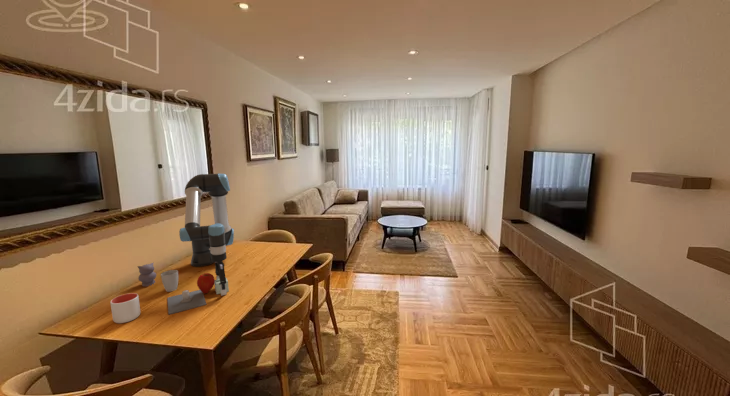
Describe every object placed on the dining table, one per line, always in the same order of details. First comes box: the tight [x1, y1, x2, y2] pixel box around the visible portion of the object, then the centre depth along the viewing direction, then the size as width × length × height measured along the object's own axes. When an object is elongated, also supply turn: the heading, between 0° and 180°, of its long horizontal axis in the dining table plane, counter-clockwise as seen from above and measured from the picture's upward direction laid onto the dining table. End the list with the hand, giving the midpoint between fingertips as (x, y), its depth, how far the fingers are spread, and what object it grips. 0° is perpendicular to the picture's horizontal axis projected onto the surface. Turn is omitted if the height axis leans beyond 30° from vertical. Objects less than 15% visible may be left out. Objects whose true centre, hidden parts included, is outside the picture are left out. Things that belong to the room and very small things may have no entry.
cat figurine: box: [137, 262, 157, 287], centre depth 172 cm, size 8×8×12 cm
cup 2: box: [160, 269, 179, 293], centre depth 165 cm, size 8×8×10 cm
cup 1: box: [109, 292, 141, 324], centre depth 136 cm, size 10×10×10 cm
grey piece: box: [167, 289, 207, 316], centre depth 151 cm, size 20×16×5 cm
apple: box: [196, 272, 216, 295], centre depth 160 cm, size 9×8×11 cm
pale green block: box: [214, 277, 230, 295], centre depth 163 cm, size 6×6×7 cm
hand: (221, 290), depth 163 cm, fingers open, 12 cm apart
